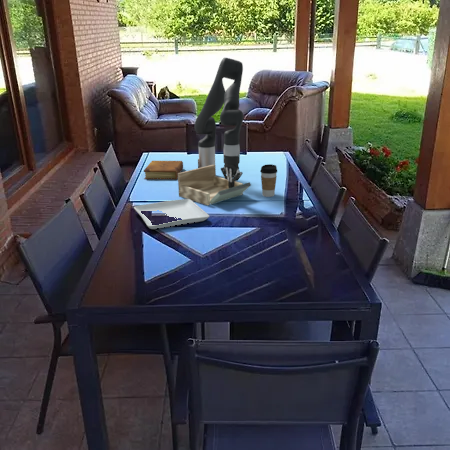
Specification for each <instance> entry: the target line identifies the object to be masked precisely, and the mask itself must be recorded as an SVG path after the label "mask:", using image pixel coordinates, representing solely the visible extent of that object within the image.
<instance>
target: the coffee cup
mask: <svg viewBox="0 0 450 450" xmlns="http://www.w3.org/2000/svg"><path fill="white" fill-rule="evenodd" d="M277 167H278V166H277V165H275V164H272V163H271V164H270V163H269V164H268V163H267V164H263V165H262V166H261V168H260V174H261V175H260V179H261V181H260V182H261V189H262V190H261V192H262V193H261V195H262V196H263V197H267V198H271V197H274V196H275V193H276V183H277V173H278V168H277Z"/></svg>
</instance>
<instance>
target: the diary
mask: <svg viewBox="0 0 450 450" xmlns="http://www.w3.org/2000/svg"><path fill="white" fill-rule="evenodd" d="M183 169H184V162H183V160H151V161H150V162H149V164H148V165H146V167H145V168H144V170H143V173H144V175H145V177H144V178H143V180H178V173H181V172H183Z"/></svg>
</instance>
